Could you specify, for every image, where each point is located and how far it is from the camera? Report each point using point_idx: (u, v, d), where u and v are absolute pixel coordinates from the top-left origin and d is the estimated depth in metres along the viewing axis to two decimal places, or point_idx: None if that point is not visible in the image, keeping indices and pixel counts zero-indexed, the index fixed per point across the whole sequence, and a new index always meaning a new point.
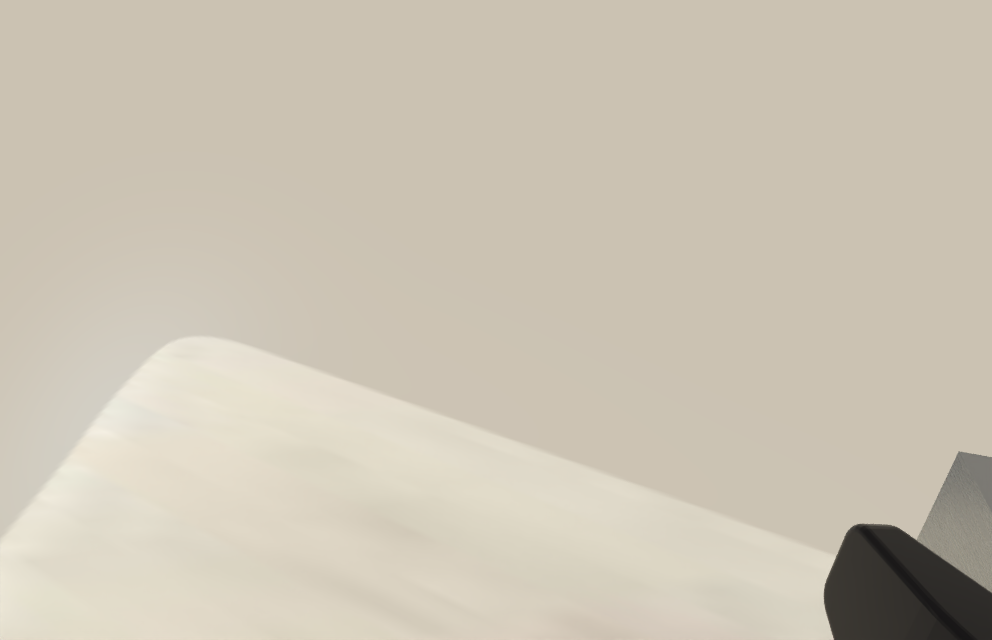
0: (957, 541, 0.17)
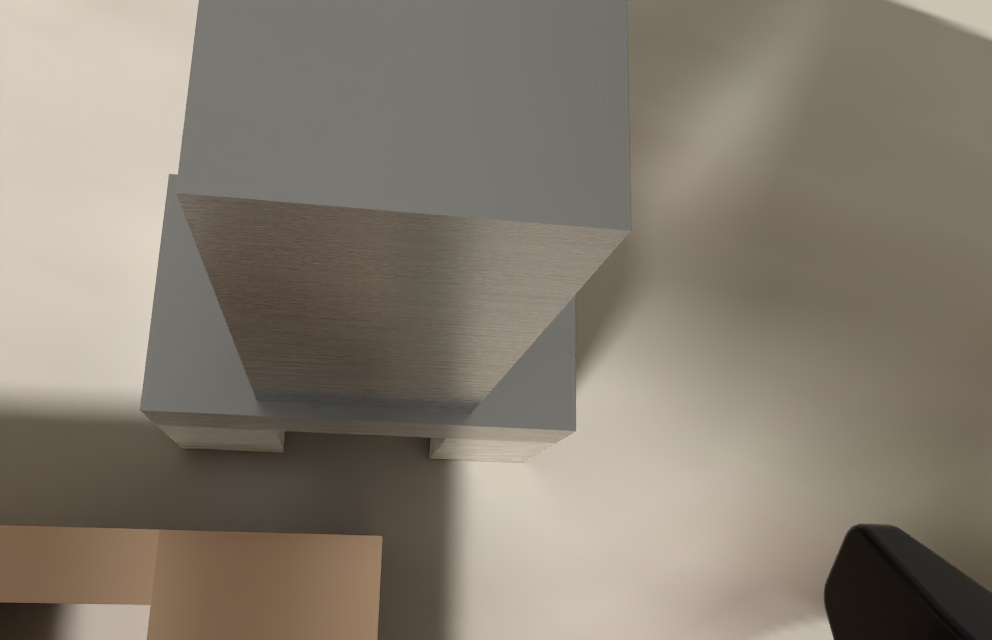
0: None
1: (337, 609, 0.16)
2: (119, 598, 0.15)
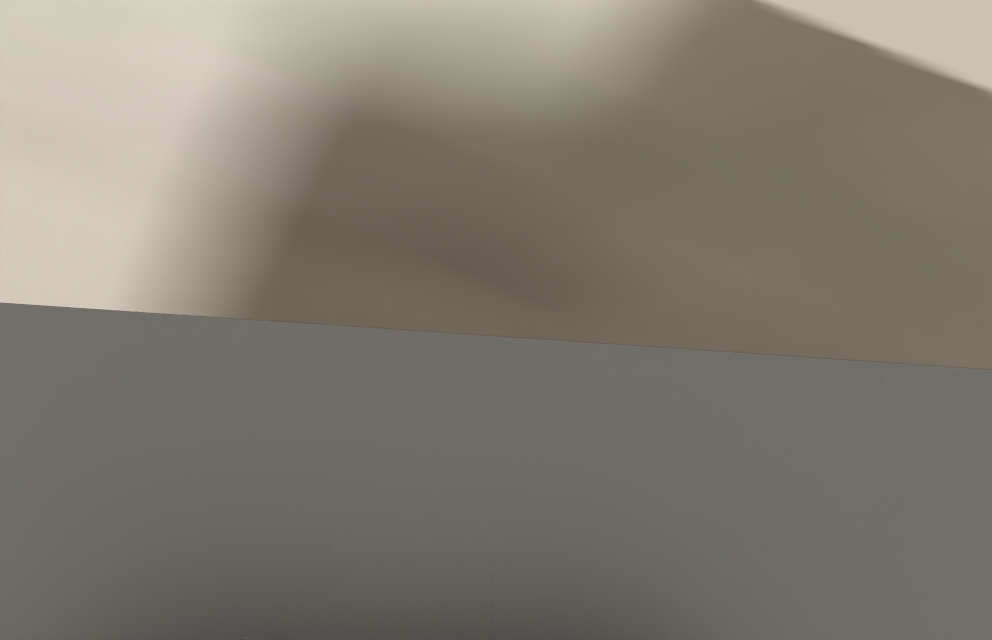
0: None
1: None
2: None
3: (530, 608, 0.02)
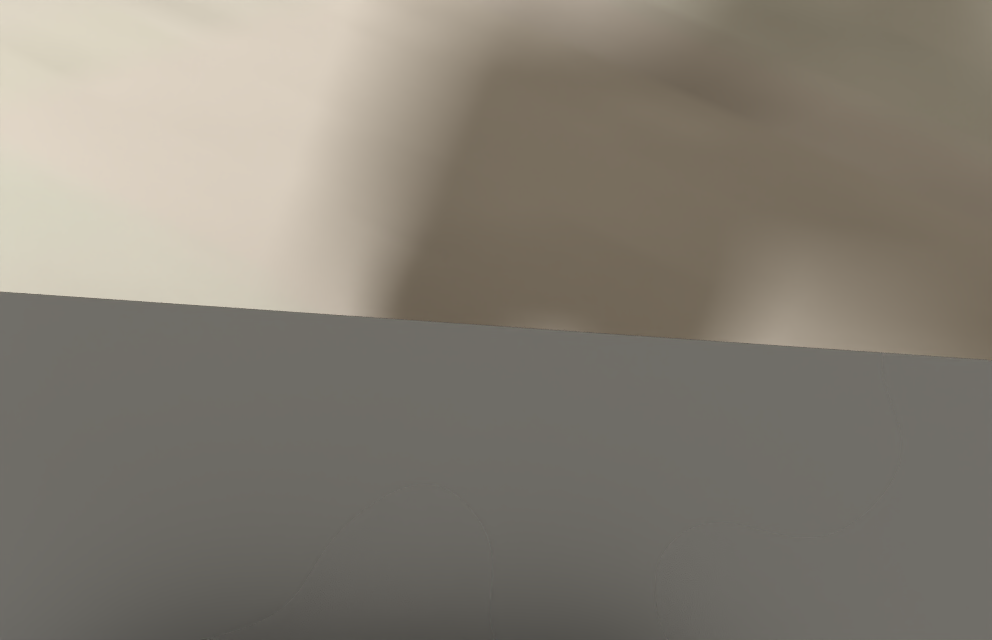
0: None
1: None
2: None
3: (533, 597, 0.02)
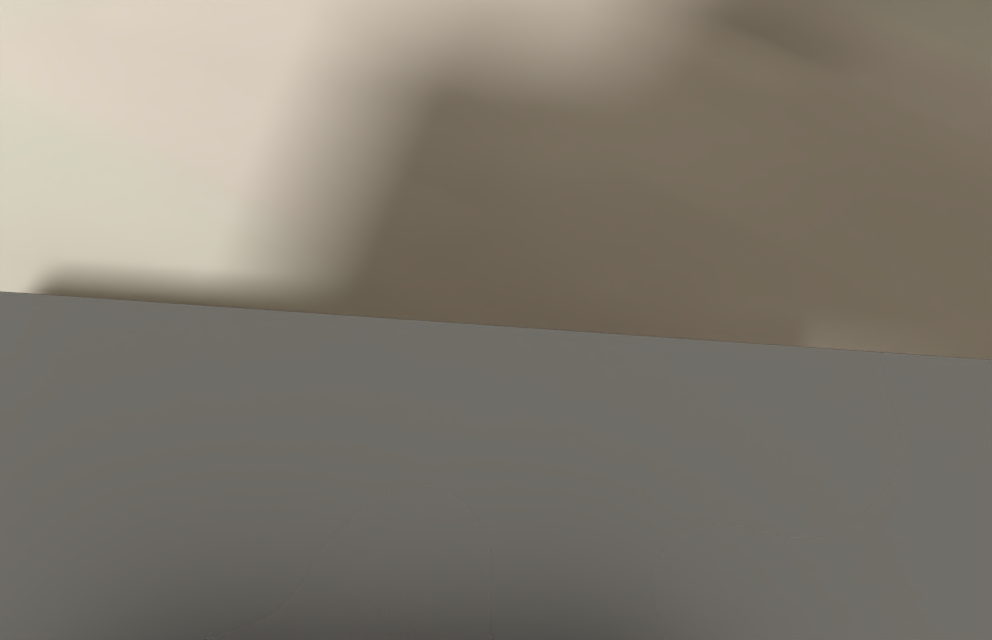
0: None
1: None
2: None
3: (530, 598, 0.02)
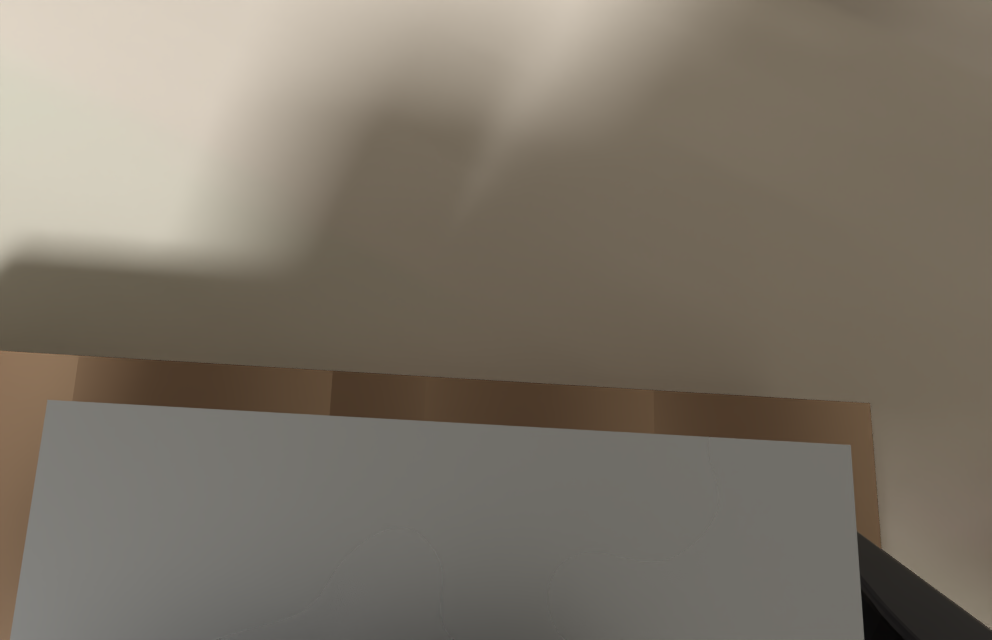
0: None
1: None
2: None
3: (469, 601, 0.04)
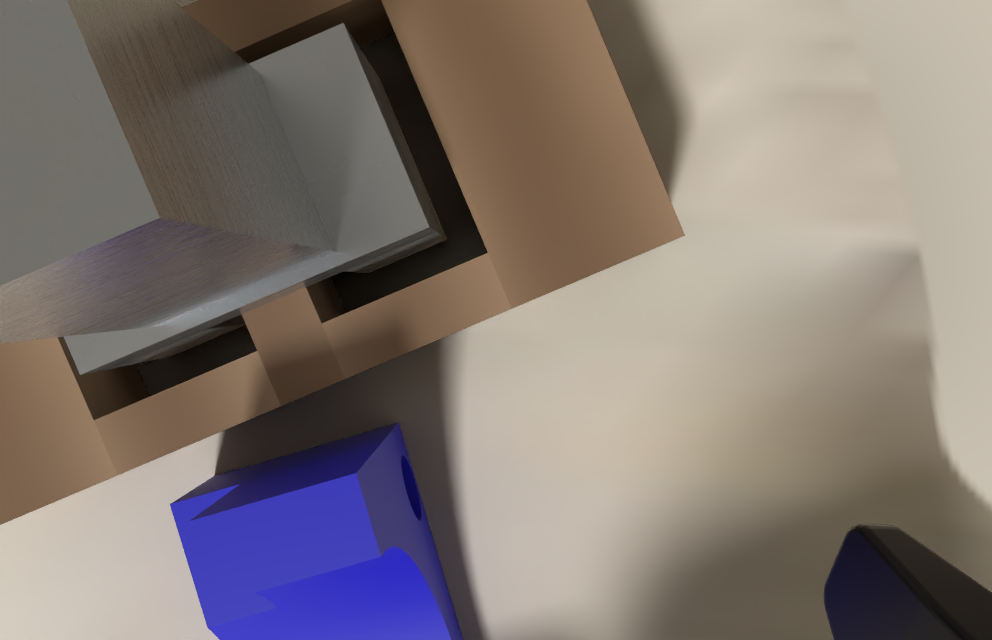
0: None
1: None
2: None
3: None
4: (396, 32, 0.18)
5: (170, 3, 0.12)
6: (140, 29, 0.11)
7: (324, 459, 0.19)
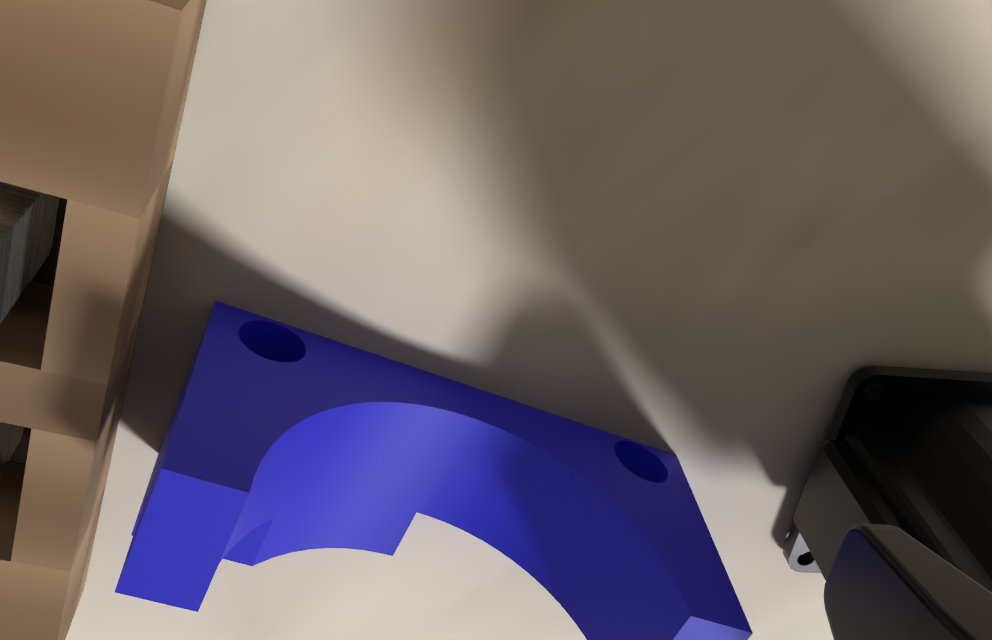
0: None
1: None
2: None
3: None
4: None
5: None
6: None
7: (175, 416, 0.19)
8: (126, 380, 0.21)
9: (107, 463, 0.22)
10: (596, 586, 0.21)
